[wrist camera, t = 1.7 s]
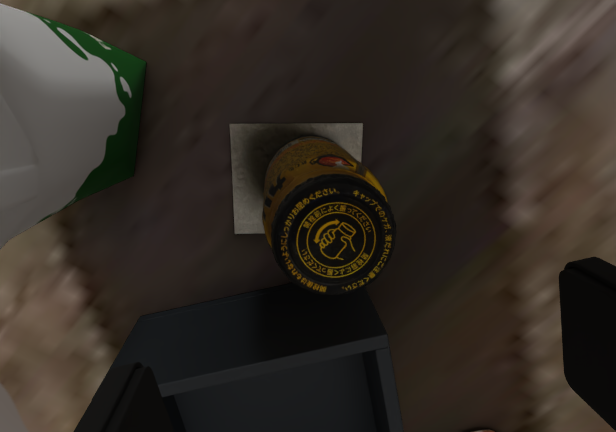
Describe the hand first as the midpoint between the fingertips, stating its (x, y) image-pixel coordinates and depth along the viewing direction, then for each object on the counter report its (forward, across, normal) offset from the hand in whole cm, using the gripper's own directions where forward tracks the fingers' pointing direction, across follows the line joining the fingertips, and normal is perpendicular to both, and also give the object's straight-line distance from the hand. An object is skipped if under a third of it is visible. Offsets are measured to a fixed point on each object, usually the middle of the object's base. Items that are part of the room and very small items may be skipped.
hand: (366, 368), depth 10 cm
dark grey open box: (+21, +5, +15) cm, 26 cm away
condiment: (+21, 0, -1) cm, 21 cm away
